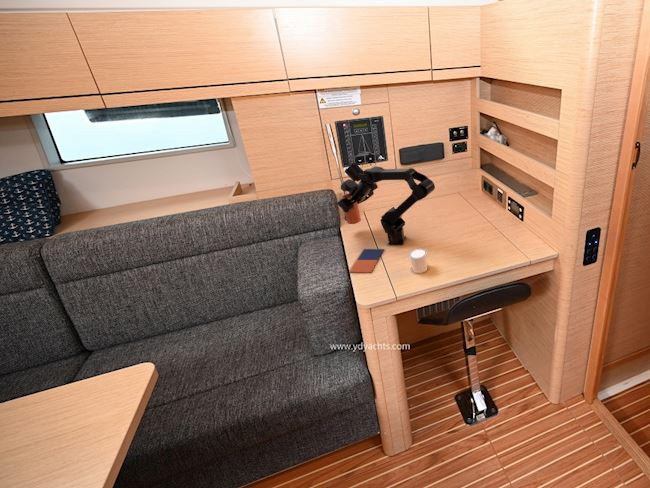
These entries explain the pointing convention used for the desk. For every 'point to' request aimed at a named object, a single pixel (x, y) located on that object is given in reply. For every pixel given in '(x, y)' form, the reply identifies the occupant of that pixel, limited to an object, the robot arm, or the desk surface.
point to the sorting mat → (366, 261)
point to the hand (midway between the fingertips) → (349, 208)
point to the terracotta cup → (352, 212)
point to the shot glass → (418, 260)
